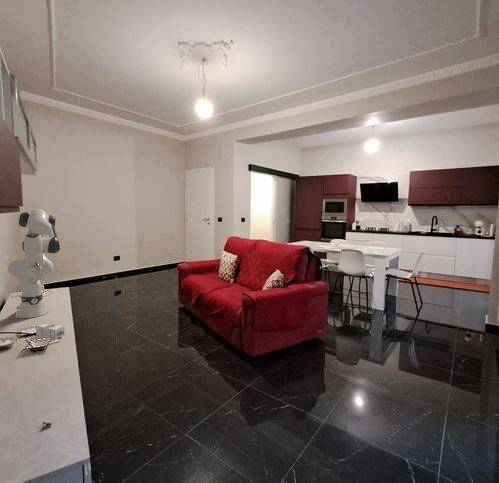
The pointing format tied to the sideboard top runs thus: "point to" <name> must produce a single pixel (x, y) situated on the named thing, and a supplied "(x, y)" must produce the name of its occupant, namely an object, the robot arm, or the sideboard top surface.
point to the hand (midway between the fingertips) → (34, 284)
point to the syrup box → (50, 330)
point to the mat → (43, 337)
